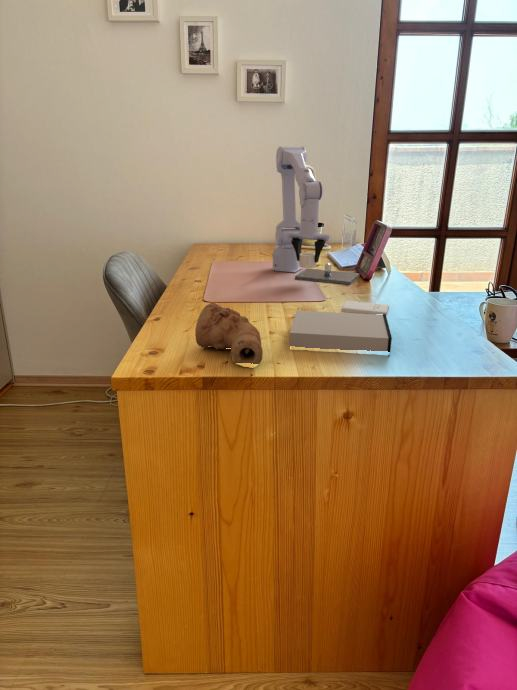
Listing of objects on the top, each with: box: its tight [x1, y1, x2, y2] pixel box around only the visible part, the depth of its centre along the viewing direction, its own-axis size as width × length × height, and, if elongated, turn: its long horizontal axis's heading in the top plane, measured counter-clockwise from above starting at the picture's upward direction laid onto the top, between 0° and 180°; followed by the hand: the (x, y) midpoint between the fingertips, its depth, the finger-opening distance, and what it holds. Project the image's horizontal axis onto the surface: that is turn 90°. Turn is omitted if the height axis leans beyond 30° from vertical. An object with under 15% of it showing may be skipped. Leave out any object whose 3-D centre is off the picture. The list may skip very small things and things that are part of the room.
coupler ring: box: [298, 252, 317, 269], centre depth 171 cm, size 6×6×4 cm
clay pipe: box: [194, 302, 264, 365], centre depth 112 cm, size 19×11×15 cm
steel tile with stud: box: [294, 262, 360, 285], centre depth 182 cm, size 20×14×5 cm
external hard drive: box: [341, 300, 390, 316], centre depth 146 cm, size 2×8×12 cm
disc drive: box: [289, 310, 393, 353], centre depth 121 cm, size 18×22×5 cm
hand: (307, 261), depth 171 cm, fingers closed on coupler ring, 6 cm apart
